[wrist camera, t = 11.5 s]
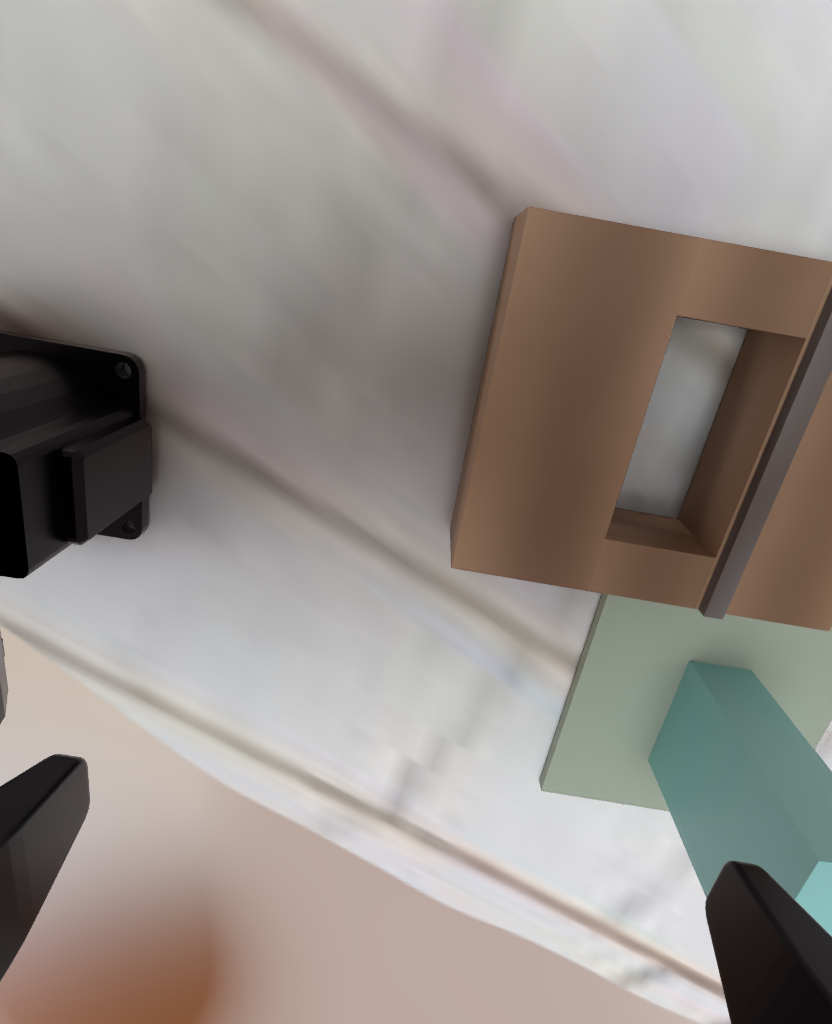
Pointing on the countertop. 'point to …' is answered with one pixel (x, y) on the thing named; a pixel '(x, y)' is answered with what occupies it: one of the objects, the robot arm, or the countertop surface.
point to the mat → (670, 690)
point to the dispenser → (620, 412)
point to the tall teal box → (746, 785)
